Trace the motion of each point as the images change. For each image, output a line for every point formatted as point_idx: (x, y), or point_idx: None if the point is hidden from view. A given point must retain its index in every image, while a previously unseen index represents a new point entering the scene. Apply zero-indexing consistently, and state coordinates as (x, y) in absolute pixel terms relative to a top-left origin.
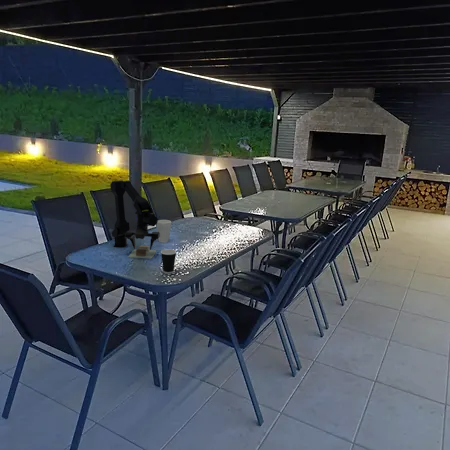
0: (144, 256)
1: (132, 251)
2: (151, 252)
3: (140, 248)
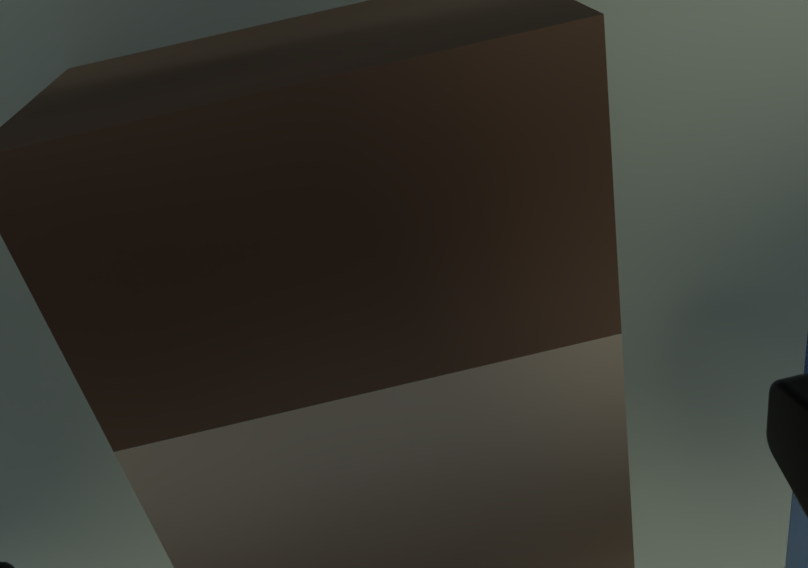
0: (59, 8)
1: None
2: (119, 547)
3: (490, 467)
